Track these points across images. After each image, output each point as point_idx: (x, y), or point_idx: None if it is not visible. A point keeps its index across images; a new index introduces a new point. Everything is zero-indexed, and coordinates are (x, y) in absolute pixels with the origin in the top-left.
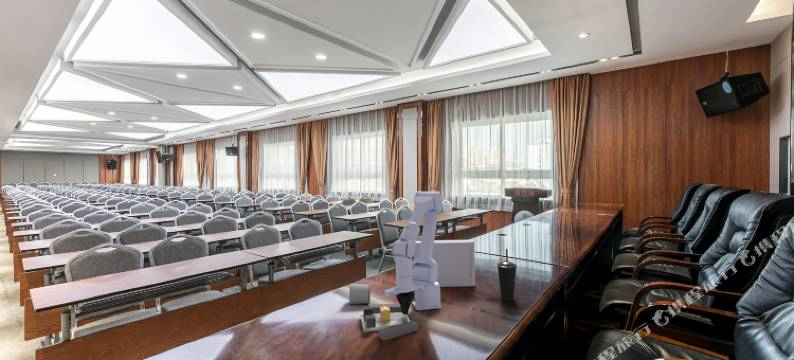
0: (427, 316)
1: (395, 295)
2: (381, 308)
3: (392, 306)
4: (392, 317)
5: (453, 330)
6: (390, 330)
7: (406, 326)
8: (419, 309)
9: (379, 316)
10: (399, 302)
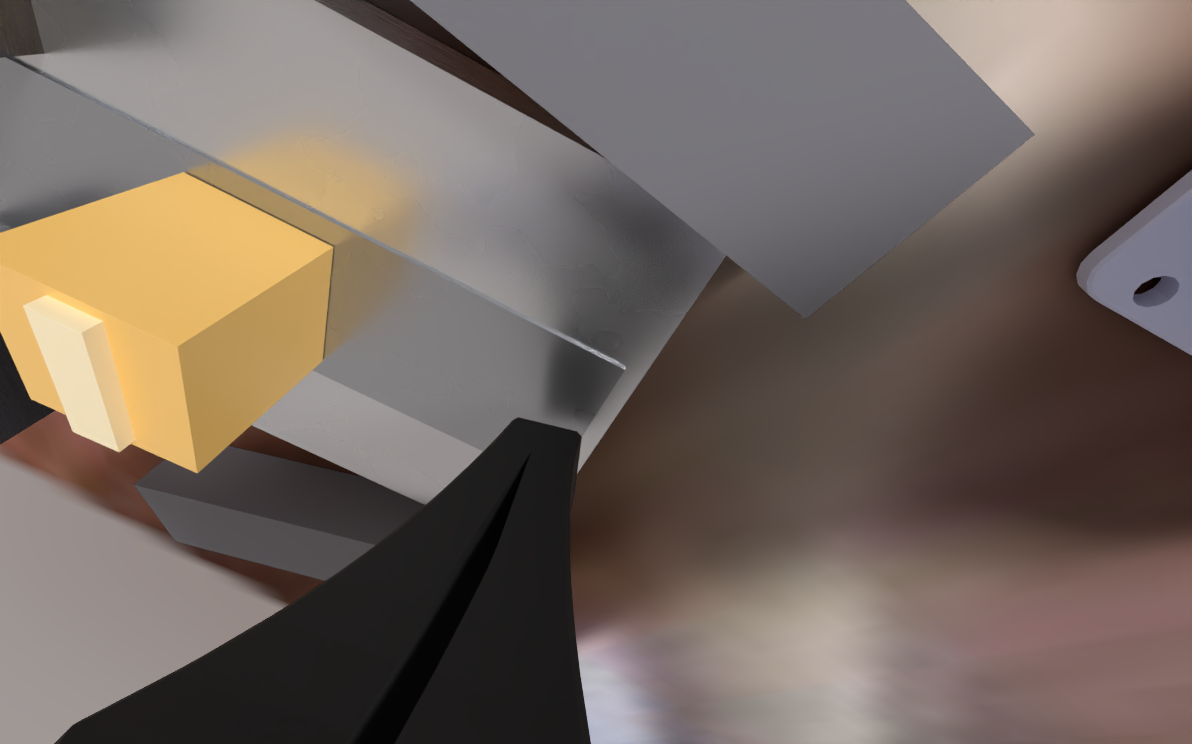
0: (911, 502)
1: (97, 713)
2: (14, 317)
3: (484, 14)
4: (380, 315)
5: (771, 717)
6: (242, 548)
7: None
8: (1117, 309)
9: (176, 112)
10: (364, 574)
